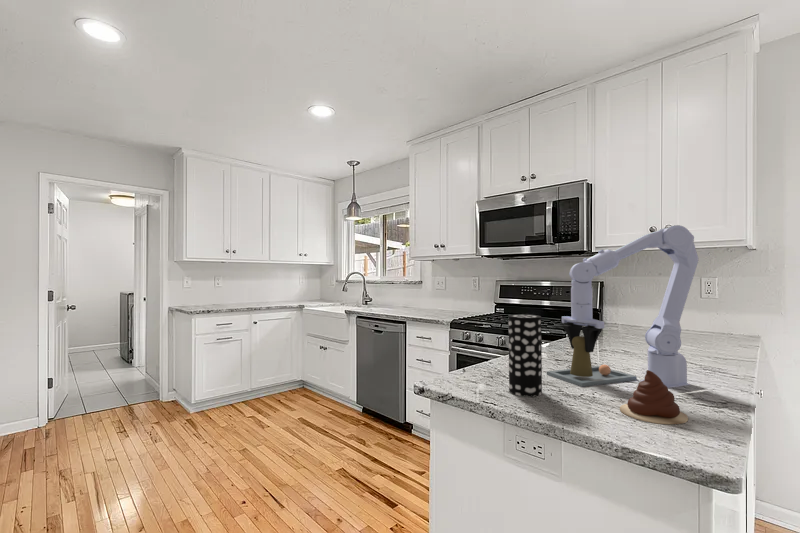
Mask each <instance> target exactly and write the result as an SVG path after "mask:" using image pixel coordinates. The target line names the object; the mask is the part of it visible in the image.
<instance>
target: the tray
mask: <svg viewBox="0 0 800 533" xmlns="http://www.w3.org/2000/svg"><path fill="white" fill-rule="evenodd" d="M591 366H592V365H591ZM600 366H601V365H593V366H592V374H593V376H591V377H581V376H575V375H572V374H570V371H571V368H566V369H558V370H557V369H556V370H546V376H548V377H552V378H555V379H558V380H561V381H563V382H567V383H569V384H572V385H575V386H577V387H581V388H582V387H583V388H584V387H591V386H592V387H593V386H598V385H599V386H600V385H608V384H615V383H616V384H617V383H622V382H624V383H625V382H630V381H637V377H638V376H637V375H633V374H630V373H627V372H623V371H618V370H615V369H611V368H610V369H611V372H610V374H609V375H607V376H604V375H602V374H601V373H600V372H599V367H600Z"/></svg>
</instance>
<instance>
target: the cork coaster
mask: <svg viewBox="0 0 800 533" xmlns="http://www.w3.org/2000/svg"><path fill="white" fill-rule="evenodd" d="M619 411H620V413H622V414H623V415H625V416H627V417H629V418H632V419H634V420H637V421H640V422H641V421H642V422H646V423H649V424H650V423H651V424H657V425H667V426H668V425H669V426H670V425H671V426H672V425H682V424H685V423H687V422H689V417H688V415H687V414H686V413H684V412H683V411H680V413H679V415H678V416H677V417H674V418H665V417H661V416H658V415H654V416H644V415H639V414H636V413H634V412H632V411H631V410H630V409H629V408H628V405H627V403H625V404H622V405H620V406H619Z"/></svg>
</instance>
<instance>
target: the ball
mask: <svg viewBox="0 0 800 533" xmlns="http://www.w3.org/2000/svg"><path fill="white" fill-rule="evenodd" d="M599 366H600V367H599V372H600V373H601V374H602V375H604V376H607V375H609V374H610V372H611V367H610V366H609V365H608V364H601V365H599Z"/></svg>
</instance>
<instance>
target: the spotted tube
mask: <svg viewBox="0 0 800 533" xmlns="http://www.w3.org/2000/svg"><path fill="white" fill-rule="evenodd" d="M542 343H543V342H542V316H541V315H536V314H508V391H509V393H511V394H512V395H515V396H519V397H538V396H541V395H543V377H542V376H543V369H542V367H543V364H542V363H543V361H542V360H543V357H542V356H543V355H542V354H543V352H542V350H543V349H542Z"/></svg>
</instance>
